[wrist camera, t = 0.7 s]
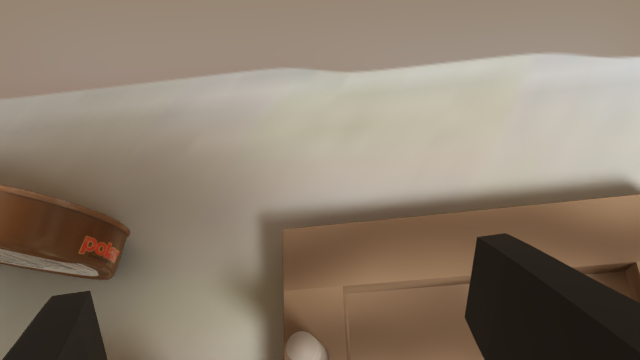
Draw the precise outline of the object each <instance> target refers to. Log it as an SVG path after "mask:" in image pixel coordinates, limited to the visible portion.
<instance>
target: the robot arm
mask: <svg viewBox="0 0 640 360" xmlns="http://www.w3.org/2000/svg"><path fill="white" fill-rule="evenodd" d="M465 319H466V322H467V324H468V326H469V328H470V331H471V333H472V335H473V337H474V339H475V342H476V344H477V346H478V348H479V350H480V352H481V354H482V356H483V358H484V360H640V303H639V302H637V301H635V300H633V299H631V298H629V297H627V296H625V295H623V294H621V293H619V292H617V291H615V290H613V289H611V288H610V287H608V286H606V285H604V284H602V283H600V282H598V281H596V280H594V279H592V278H591V277H589V276H587V275H585V274H583V273H581V272H579V271H578V270H576V269H574V268H572V267H570V266H568V265H566V264H565V263H563V262H561V261H559V260H557V259H555V258H554V257H552V256H550V255H548V254H546V253H544V252H542V251H541V250H539V249H537V248H535V247H533V246H531V245H529V244H527V243H525V242H523V241H521V240H519V239H517V238H515V237H513V236H511V235H509V234H506V233H503V234H495V235H488V236H481V237H477V240H476V247H475V253H474V260H473V266H472V272H471V279H470V285H469V292H468V298H467V304H466V311H465ZM2 360H107V356H106V352H105V348H104V344H103V340H102V336H101V332H100V328H99V324H98V320H97V316H96V312H95V308H94V304H93V300H92V296H91V292H90V291H85V292H78V293H71V294H64V295H57V296H52V297H51V298H50V299H49V300H48V302H47V303H46V304H45V305H44V306H43V308H42V309H41V310H40V312H39V313H38V314H37V315H36V317H35V318H34V319H33V321H32V322H31V323H30V325H29V326H28V327H27V329H26V330H25V331H24V332H23V334H22V335H21V336H20V338H19V339H18V340H17V342H16V343H15V344H14V345H13V347H12V348H11V349H10V351H9V352H8V353H7V354H6V356H5V357H4V358H3V359H2Z"/></svg>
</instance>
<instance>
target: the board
mask: <svg viewBox="0 0 640 360" xmlns="http://www.w3.org/2000/svg"><path fill="white" fill-rule="evenodd" d="M503 233H506V234H509V235H511V236H513V237H515V238H517V239H519V240H521V241H523V242H525V243H527V244H529V245H531V246H533V247H535V248H537V249H539V250H541V251H542V252H544V253H546V254H548V255H550V256H552V257H554V258H555V259H557V260H559V261H561V262H563V263H565V264H566V265H568V266H570V267H572V268H574V269H576V270H578V271H579V272H581V273H583V274H585V275H587V276H589V277H591V278H592V279H594V280H596V281H598V282H600V283H602V284H604V285H606V286H608V287H610V288H611V289H613V290H615V291H617V292H619V293H621V294H623V295H625V296H627V297H629V298H631V299H633V300H635V301H637V302H639V303H640V194H638V195H628V196H618V197H608V198H598V199H587V200H577V201H567V202H557V203H547V204H536V205H526V206H516V207H506V208H496V209H485V210H475V211H465V212H455V213H445V214H434V215H424V216H414V217H404V218H394V219H383V220H373V221H363V222H353V223H342V224H332V225H322V226H312V227H302V228H291V229H283V293H284V360H484V358H483V356H482V354H481V352H480V350H479V348H478V346H477V344H476V342H475V339H474V337H473V335H472V333H471V331H470V328H469V326H468V324H467V322H466V319H465V311H466V304H467V298H468V292H469V285H470V279H471V272H472V266H473V260H474V253H475V247H476V240H477V237H481V236H488V235H495V234H503Z"/></svg>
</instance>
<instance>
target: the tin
mask: <svg viewBox="0 0 640 360" xmlns="http://www.w3.org/2000/svg"><path fill="white" fill-rule="evenodd" d="M129 235H130V230H129V229H128V228H127V227H126V226H125V225H123V224H121V223H120V222H118V221H116V220H114V219H112V218H110V217H107V216H105V215H103V214H101V213H98V212H95V211H93V210H90V209H88V208H85V207H82V206H79V205H76V204H73V203H70V202H68V201H64V200H61V199H57V198H54V197H50V196H47V195H43V194H39V193H35V192H31V191H27V190H23V189H19V188H14V187H9V186H5V185H0V264H5V265H10V266H15V267H21V268H26V269H32V270H38V271H44V272H50V273H56V274H62V275H68V276H74V277H81V278H89V279H98V280H106V279H110V278H112V276H113V275H114V273H115V271H116V269H117V266H118V263H119V260H120V257H121V254H122V251H123V247H124V244H125V241H126V238H127V237H128V236H129Z"/></svg>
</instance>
